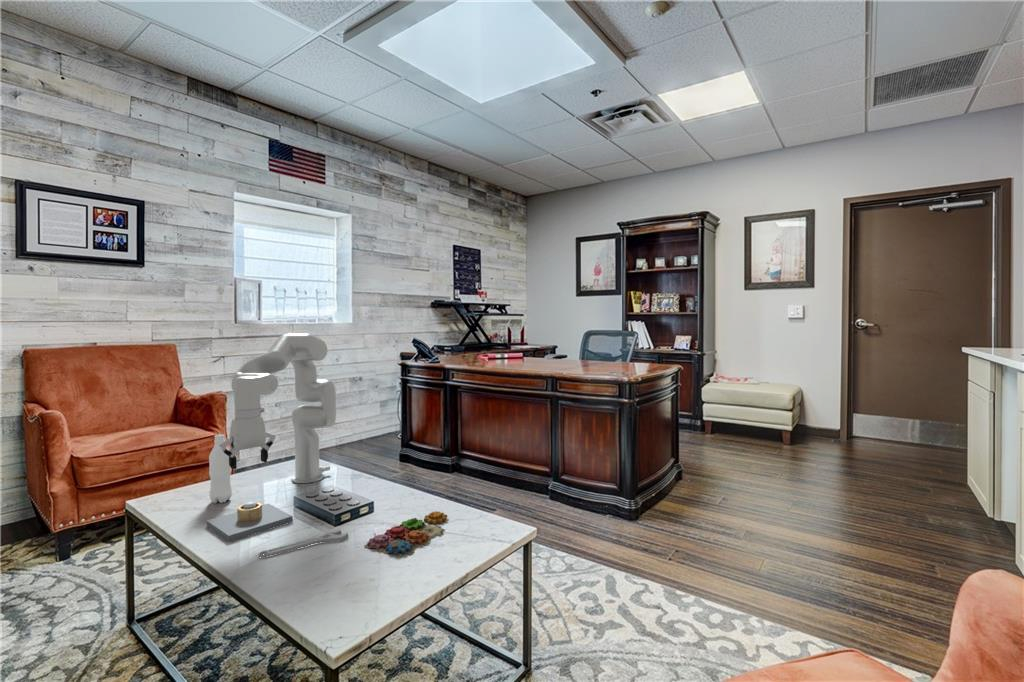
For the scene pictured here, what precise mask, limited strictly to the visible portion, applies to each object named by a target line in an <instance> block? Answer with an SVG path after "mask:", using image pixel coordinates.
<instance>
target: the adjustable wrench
mask: <svg viewBox="0 0 1024 682" xmlns="http://www.w3.org/2000/svg"><path fill="white" fill-rule="evenodd" d="M348 537H349V532H347V531H346V532H344V533H342V530H341V529H336V530H331V531H326V532H325V533H324V534H322V535H320V536H317V537H313V538H310V539H305V540H301V541H298V542H295V543H290V544H287V545H283V546H278V547H274V548H271V549H267V550H262V551H260V552H258V558H259V557H261V558H260V559H264V558H263V557H267V556H270V555H274V556H276V555H275V554H278V555H280V554H279V553H282V554H284V552H286V553H288V551H289V552H292V551H291V550H293V551H296V550H295V549H297V550H299V549H298V548H301V547H304V548H306V547H305V546H308V545H311V544H315V543H320V542H327V543H338V542H337V541H339V542H342V541H344V540H347V539H348ZM320 544H321V543H320ZM308 547H309V546H308ZM301 549H302V548H301ZM263 554H264V555H263ZM270 557H271V556H270ZM267 558H268V557H267Z"/></svg>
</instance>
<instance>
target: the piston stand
mask: <svg viewBox="0 0 1024 682" xmlns="http://www.w3.org/2000/svg"><path fill="white" fill-rule="evenodd" d="M256 503H257V502H256V501H254V500H253V501H246V502H244V503H243V504H244V506H243V507H244V509H252V508H256ZM293 521H294V520H293V515H292V514H290V513H288V512H285V511H284V510H282V509H280V508H278V507H276V506H275V505H272V504H271V503H265V504H262V517H261V518H260V519H259V520H256V521H252V522H239V521H238V517H237V511H236V512H232V513H229V514H225V515H221V516H217V517H214V518H211V519H207V520H206V527H207V528H208V529H210V530H211V531H212V532H214V533H216V534H217V535H218V536H219V537H221V538H222V539H223V540H225V541H227V542H228V543H231V542H233V541H237V540H240V539H242V537H243V538H246V537H245V536H247V537H249V536H248V535H250V536H253V535H256V534H259V533H263V532H265V530H266V531H269V530H271V529H270V528H272V529H274V528H273V527H275V528H278V527H281V526H284V525H283V524H285V525H287V524H286V523H288V524H290V522H291V523H293ZM280 525H281V526H280ZM277 526H278V527H277ZM268 529H269V530H268ZM258 532H259V533H258ZM255 533H256V534H255ZM252 534H253V535H252ZM239 538H240V539H239Z"/></svg>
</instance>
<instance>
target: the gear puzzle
mask: <svg viewBox="0 0 1024 682" xmlns="http://www.w3.org/2000/svg"><path fill="white" fill-rule="evenodd" d="M447 518H448V515H447V514H445V513H444V512H441V511H437V510H436V511H432V512H430V513H429V514H426V515H424V518H423V519H418V518H416V517H413V518H410V519H407V520H404V521H401V523H400V524H399V525H394V526H392V527H391V528H389V529H386V530H385V533H382V534H377V535H375V536H374V537H372V538H369V540H368V542H367V543H366V544H365V545H364V548H365V549H368V550H371V549H375V552H377V553H378V552H379V553H382V554H384V555H385V554H386V555H389V554H394V557H396V558H399V559H401V558H403V557H405V556H407V555H408V556H411V555H413V554H414V553H415V550H416V548H420V547H421V546H425V547H426V546H427V545H429V544H430V543H431V540H432V539H434V538H436V537H442V536H443V535H444V534H445V533H444V532H445V531H446V529H444V528H442V526H441V525H437V524H438V523H439V524H442V523H443V522H445V521H448V520H447ZM425 522H426V523H425ZM427 524H429V525H427ZM430 524H433V525H434V526H433V525H430ZM440 527H441V528H440ZM444 530H445V531H444ZM443 531H444V532H443ZM441 532H442V533H441ZM437 535H438V536H437ZM441 535H442V536H441ZM435 536H436V537H435Z"/></svg>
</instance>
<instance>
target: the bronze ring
mask: <svg viewBox="0 0 1024 682" xmlns="http://www.w3.org/2000/svg"><path fill="white" fill-rule="evenodd" d="M262 505H263V503H260V502H256V508H252V509H244V507H243V506H244V503H243V504H241V505H239V506H238V507H237V510H236V512H237V517H238V521H239V522H252V521H256V520H259V519H260V518H261V517H262Z"/></svg>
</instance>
